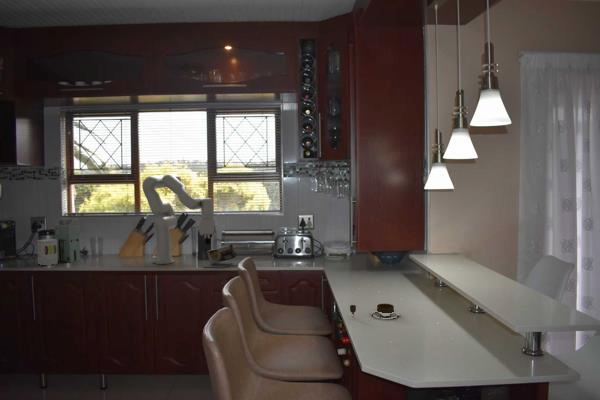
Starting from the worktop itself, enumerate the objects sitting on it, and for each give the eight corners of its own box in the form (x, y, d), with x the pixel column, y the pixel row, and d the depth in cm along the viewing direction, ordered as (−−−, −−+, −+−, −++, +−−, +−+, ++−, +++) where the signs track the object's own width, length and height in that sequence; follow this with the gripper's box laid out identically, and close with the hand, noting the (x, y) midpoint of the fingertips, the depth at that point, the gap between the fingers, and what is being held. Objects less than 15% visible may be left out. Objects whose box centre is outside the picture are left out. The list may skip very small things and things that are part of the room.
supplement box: (43, 266, 317) (42, 241, 316) (37, 264, 323) (36, 239, 322) (58, 264, 325) (57, 239, 324) (51, 262, 330) (50, 238, 329)
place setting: (398, 324, 191) (398, 310, 191) (348, 320, 196) (348, 306, 196) (401, 312, 208) (401, 298, 208) (355, 309, 213) (355, 296, 213)
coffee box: (213, 263, 320) (235, 256, 318) (210, 264, 313) (233, 258, 312) (209, 249, 320) (232, 243, 318) (206, 251, 313) (229, 245, 311)
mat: (203, 267, 308) (203, 266, 307) (215, 262, 324) (215, 261, 324) (221, 268, 304) (221, 267, 304) (232, 263, 321) (232, 262, 321)
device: (55, 260, 337) (54, 218, 335) (65, 259, 344) (64, 217, 342) (70, 262, 329) (68, 219, 327) (80, 260, 335) (78, 218, 334)
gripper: (194, 217, 313) (195, 244, 314) (215, 217, 309) (216, 245, 310) (199, 216, 320) (200, 243, 321) (220, 216, 316) (220, 243, 317)
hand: (208, 244), depth 316 cm, fingers closed
